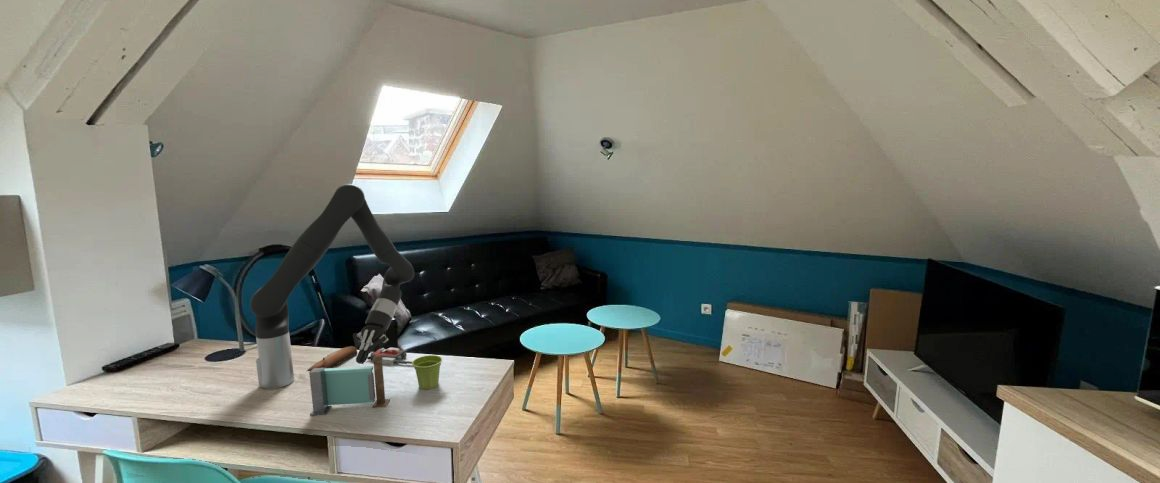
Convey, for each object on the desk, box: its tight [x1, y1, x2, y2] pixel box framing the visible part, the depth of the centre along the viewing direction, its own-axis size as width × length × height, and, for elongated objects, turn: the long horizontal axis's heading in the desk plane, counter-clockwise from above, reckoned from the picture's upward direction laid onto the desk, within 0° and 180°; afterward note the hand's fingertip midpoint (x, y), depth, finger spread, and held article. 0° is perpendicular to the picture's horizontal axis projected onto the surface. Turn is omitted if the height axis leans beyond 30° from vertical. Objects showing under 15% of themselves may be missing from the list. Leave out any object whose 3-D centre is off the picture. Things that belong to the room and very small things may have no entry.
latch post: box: [308, 368, 333, 417], centre depth 140 cm, size 4×4×13 cm
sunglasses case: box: [306, 345, 358, 372], centre depth 177 cm, size 18×7×7 cm, turn 170°
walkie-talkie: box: [367, 347, 413, 366], centre depth 178 cm, size 9×4×20 cm
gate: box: [325, 365, 376, 406], centre depth 143 cm, size 16×2×11 cm, turn 96°
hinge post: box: [372, 355, 391, 409], centre depth 144 cm, size 4×4×16 cm
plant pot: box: [411, 354, 443, 390], centre depth 157 cm, size 9×9×9 cm
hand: (359, 362), depth 152 cm, fingers closed
